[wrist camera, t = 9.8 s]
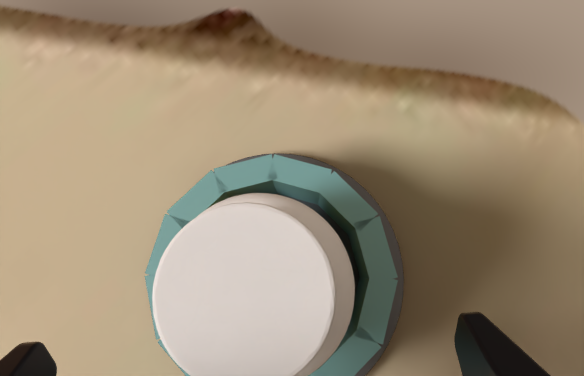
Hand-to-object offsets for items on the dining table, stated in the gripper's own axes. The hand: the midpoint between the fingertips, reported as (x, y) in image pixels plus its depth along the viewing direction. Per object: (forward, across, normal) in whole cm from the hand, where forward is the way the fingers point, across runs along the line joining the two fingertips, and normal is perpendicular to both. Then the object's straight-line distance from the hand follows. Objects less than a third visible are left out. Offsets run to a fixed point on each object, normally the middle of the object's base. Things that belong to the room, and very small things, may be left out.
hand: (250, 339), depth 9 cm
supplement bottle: (+8, 0, +6) cm, 10 cm away
